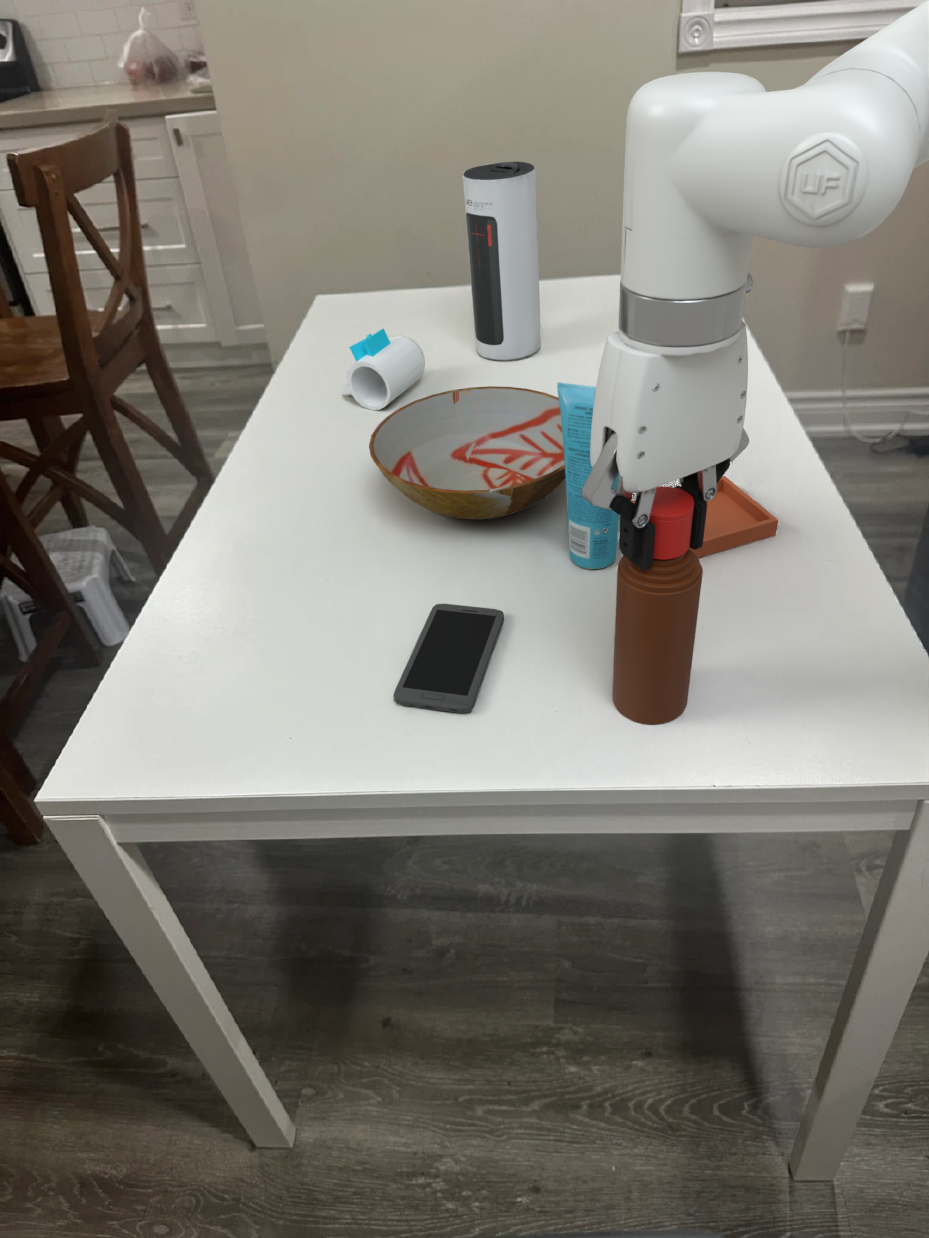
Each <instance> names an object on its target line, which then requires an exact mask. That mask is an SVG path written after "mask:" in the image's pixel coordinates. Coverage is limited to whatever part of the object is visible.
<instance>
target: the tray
mask: <svg viewBox="0 0 929 1238" xmlns="http://www.w3.org/2000/svg"><path fill="white" fill-rule="evenodd" d="M635 500H636V499H634V500H631V502H633V503H634V504H635ZM778 525H779V519H778V518H777V517H776V516H775V515H773V513H771V512H770V511H769V510H767V509H766V508H765V507H764V506H762V505H761V504H760V503H759V502H757V501H756V500H755V499H754V498H753V497H751V496H750V495H749V494H748V493H747V492H745V491H744V490H743V489H741V487H739V486H738V485H737V484H735V483H734V482H733V481H732V480H731V479H729V478H728V477H727V476H725V475H723V476H722V478H721V479H720V480H719V482H718V483H717V493H716V495H715V497H714V498H713V499H712V500H710V501H707V513H706V521H705V530H704V538H703V546H702V547H701V548H699V549H696V550H694V549H691V548H690V547H689V549H690V550H691V551H692V552H693V553H694V554H695V555H696V556H697V557H698V559H700V558H703V557H707V556H710V555H714V554H717V553H720V552H723V551H728V550H730V549H735V548H737V547H741V546H744V545H748V544H751V543H754V542H759V541H760V540H761V541H762V540H765V539H769V538H771V537H772V538H773V537H775V536H776V535H777V532H778V531H777V530H778V527H779V526H778Z"/></svg>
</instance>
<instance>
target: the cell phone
mask: <svg viewBox="0 0 929 1238" xmlns="http://www.w3.org/2000/svg"><path fill="white" fill-rule="evenodd" d="M504 620H505V613H504V611H503V610H501V609H498V608H489V607H480V606H470V605H461V604H453V603H452V604H451V603H436V604H435V605H434V606H432V607H431V610H430V612H429V614H428V615H427V618H426V621H425V623H424V625H423V627H422V630H421V632H420V633H419V635H418V638H417V640H416V642H415V645H414V647H413V649H412V651H411V654H410V656H409V659H408V661H407V663H406V664H405V667H404V670H403V672H402V674H401V676H400V679H399V680H398V683H397V685H396V687H395V689H394V693H393V701H394V703H396V704H398V705H401V706H406V707H407V706H408V707H415V708H422V709H429V710H434V711H435V710H437V711H443V712H451V713H456V714H457V713H458V714H469V713H471V712H472V710H473V708H475V707H474V706H475V704H476V702H477V698H478V696H479V693H480V690H481V687H482V684H483V682H484V679H485V675H486V673H487V670H488V667H489V665H490V662H491V658H492V656H493V653H494V650H495V647H496V644H497V641H498V638H499V635H500V633H501V630H502V627H503V625H504Z"/></svg>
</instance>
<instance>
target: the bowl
mask: <svg viewBox="0 0 929 1238" xmlns="http://www.w3.org/2000/svg"><path fill="white" fill-rule="evenodd" d="M368 449H369V454H370V458H371V459H372V461H373V462H374V464H375V465H376V468H378V470H379V471H380V472H381V473H382V475H383V477H385V478H386V480H387V481H388V482H389V483H390V484H391V485H392V486H393V487H394V488H395V489H397V490H398V491H399V492H400V493H401V494H403V495H404V496H405V497H406V498H407V499H408V500H410V501H412V502H413V503H415V504H417V505H419V506H420V507H423V508H425V509H426V510H429V511H430V512H433V513H435V514H438V515H442V516H447V517H450V518H451V517H452V518H456V519H457V518H458V519H464V520H478V521H479V520H491V519H497V518H502V517H506V516H509V515H512V514H516V513H518V512H522V511H523V510H526V509H528V508H530V507H533V506H535V505H536V504H537V503H540V502H541V501H543V500H544V499H546V498H547V497H548V496H549V495H551V494H552V493H553V492H554V491H555V490H556V489H557V488H558V487H560V485H562V484H563V483H564V481H566V475H565V460H564V446H563V433H562V423H561V412H560V404H559V397H558V396H555V395H553V394H550V393H547V392H543V391H539V390H534V389H530V388H522V387H514V386H491V385H490V386H489V385H488V386H473V387H472V386H471V387H465V388H459V389H457V388H456V389H450V390H445V391H443V392H439V393H434V394H430V395H427V396H425V397H422V398H419V399H416V400H413V401H411V402H410V403H407V404H405V405H403V406H400V407H399V408H398V409H396V410H394V411H393V412H391V413H390V414H388V415H386V417H385V418H384V419H383V420H382V421H381V422H380V423H379V424H377V426H376V428H375V429H374V431H373V432H372V433H371V436H370V439H369V444H368Z"/></svg>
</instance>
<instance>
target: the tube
mask: <svg viewBox="0 0 929 1238" xmlns="http://www.w3.org/2000/svg"><path fill="white" fill-rule="evenodd" d="M556 389H557V397H558V398H559V404H560V412H561V423H562V433H563V446H564V460H565V475H566V479H565V490H566V508H567V527H568V547H569V558H570V561H571V562H572V563H573V564H574V565H576V566H578V567H579V568H583V569H587V570H601V569H605V568H607V567H609V566H610V565H612V564H613V563H615V561H616V559H617V552H618V541H619V539H618V537H619V528H620V515H619V514H617V513H616V512H614V511H613V510H609V509H608V510H607V509H604V508H601V507H597V506H594V505H592V504H591V503H589V502H588V501H587V500H585V499H584V498H583V497H582V496H581V490H582V488H583V486H584V484H585V482H586V481H587V479H588V477H589V475H590V473H591V471H592V469H593V467H592V466H591V461H590V444H591V428H592V416H593V407H594V398H595V391H596V386H592V385H583V384H576V383H567V382H560V381H559V382H557V386H556ZM618 477H619V473H618V475H617V477H616V479H615V481H614V483H613V485H612V487H611V488H613V489H614V490H616V487H617V482H618Z"/></svg>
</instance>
